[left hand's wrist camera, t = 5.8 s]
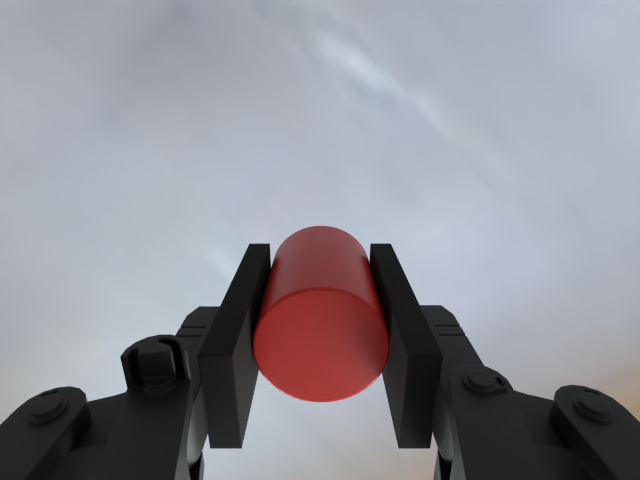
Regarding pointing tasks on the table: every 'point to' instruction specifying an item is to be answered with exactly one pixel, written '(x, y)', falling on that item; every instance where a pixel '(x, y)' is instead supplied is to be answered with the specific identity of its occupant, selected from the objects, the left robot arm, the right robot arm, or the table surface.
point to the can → (321, 318)
